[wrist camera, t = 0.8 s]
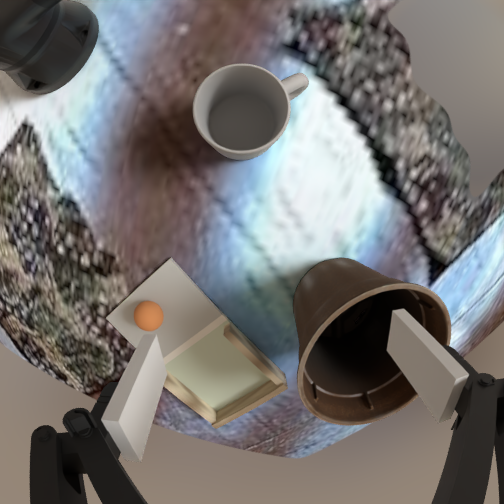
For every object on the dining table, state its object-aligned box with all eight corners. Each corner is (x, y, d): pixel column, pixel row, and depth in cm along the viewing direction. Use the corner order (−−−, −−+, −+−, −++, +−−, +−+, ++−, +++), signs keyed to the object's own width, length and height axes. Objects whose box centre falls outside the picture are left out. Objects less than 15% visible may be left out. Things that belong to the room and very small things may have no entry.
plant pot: (314, 218, 37) (362, 252, 21) (407, 269, 39) (475, 317, 24) (257, 326, 40) (265, 408, 25) (350, 359, 43) (388, 432, 27)
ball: (133, 306, 39) (123, 320, 35) (151, 290, 38) (143, 302, 34) (153, 327, 39) (145, 342, 36) (172, 311, 39) (165, 326, 35)
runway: (107, 316, 40) (105, 318, 39) (171, 257, 38) (170, 258, 37) (217, 414, 45) (216, 416, 44) (284, 373, 43) (285, 376, 42)
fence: (161, 369, 42) (156, 382, 39) (229, 320, 40) (229, 333, 37) (217, 414, 45) (215, 428, 41) (284, 373, 43) (287, 388, 39)
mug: (231, 173, 35) (226, 174, 25) (192, 117, 33) (172, 96, 23) (314, 122, 34) (342, 104, 23) (275, 68, 32) (288, 31, 21)
